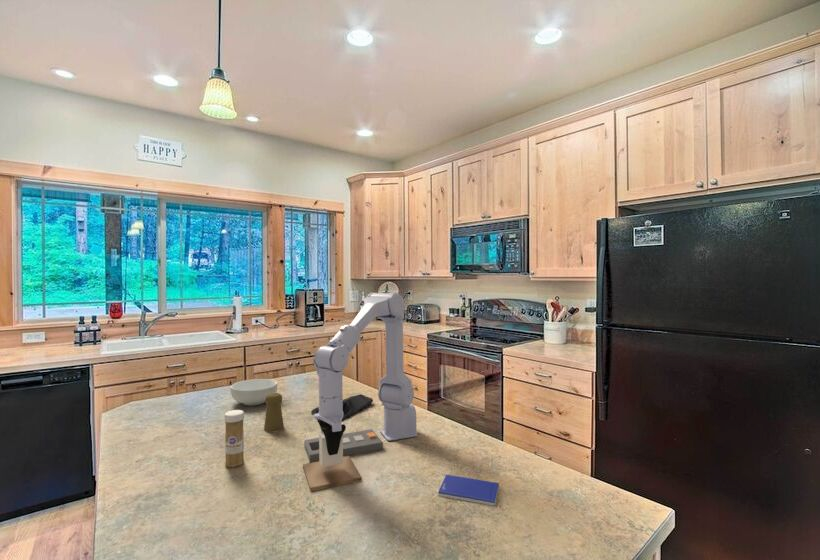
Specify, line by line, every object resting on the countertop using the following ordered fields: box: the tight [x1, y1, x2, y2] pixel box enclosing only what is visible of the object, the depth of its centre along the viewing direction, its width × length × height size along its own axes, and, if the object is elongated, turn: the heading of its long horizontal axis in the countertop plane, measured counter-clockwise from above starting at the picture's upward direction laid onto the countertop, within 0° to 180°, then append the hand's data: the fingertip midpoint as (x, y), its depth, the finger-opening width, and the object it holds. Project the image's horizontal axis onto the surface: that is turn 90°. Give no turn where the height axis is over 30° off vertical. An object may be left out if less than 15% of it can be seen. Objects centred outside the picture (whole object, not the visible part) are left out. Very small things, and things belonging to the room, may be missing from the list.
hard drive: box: [437, 474, 500, 506], centre depth 91 cm, size 2×8×12 cm
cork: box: [263, 392, 285, 433], centre depth 127 cm, size 6×6×11 cm
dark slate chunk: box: [310, 394, 374, 421], centre depth 145 cm, size 15×22×5 cm
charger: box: [318, 431, 344, 467], centre depth 98 cm, size 5×4×8 cm
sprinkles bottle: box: [224, 409, 245, 468], centre depth 104 cm, size 5×5×14 cm
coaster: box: [302, 455, 363, 492], centre depth 98 cm, size 12×12×1 cm
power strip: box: [304, 429, 384, 463], centre depth 113 cm, size 20×10×3 cm, turn 113°
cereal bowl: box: [230, 378, 278, 406], centre depth 153 cm, size 17×17×7 cm
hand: (331, 450), depth 98 cm, fingers closed on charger, 4 cm apart
